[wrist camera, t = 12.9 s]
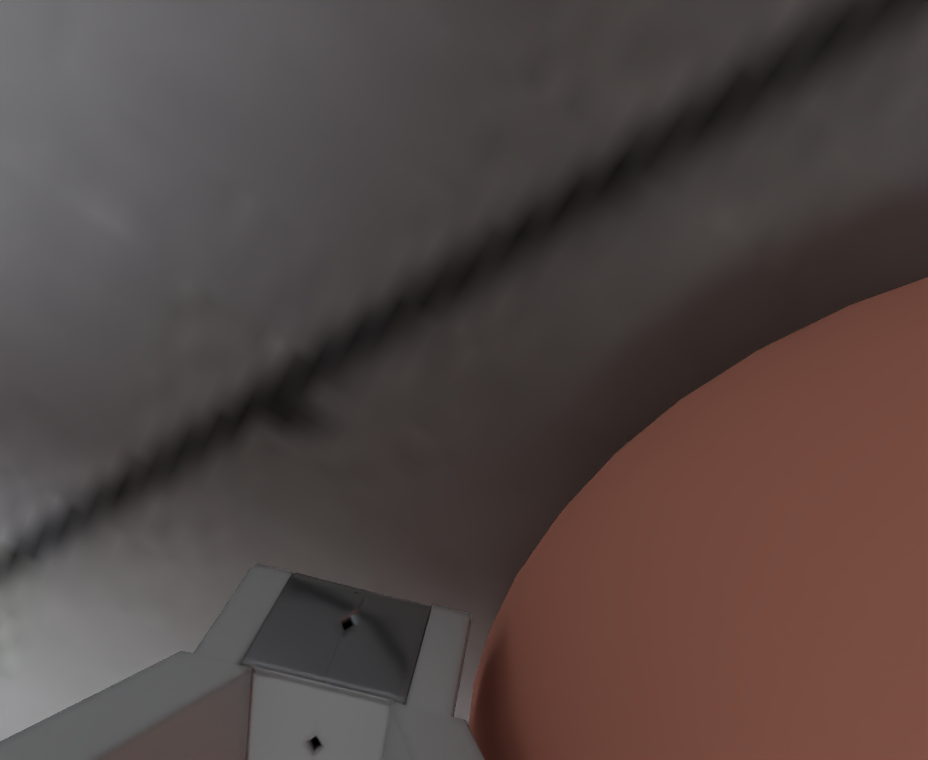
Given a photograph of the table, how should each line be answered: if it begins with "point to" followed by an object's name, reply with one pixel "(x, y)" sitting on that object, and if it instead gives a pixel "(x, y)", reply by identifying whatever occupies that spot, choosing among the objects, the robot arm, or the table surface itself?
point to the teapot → (738, 569)
